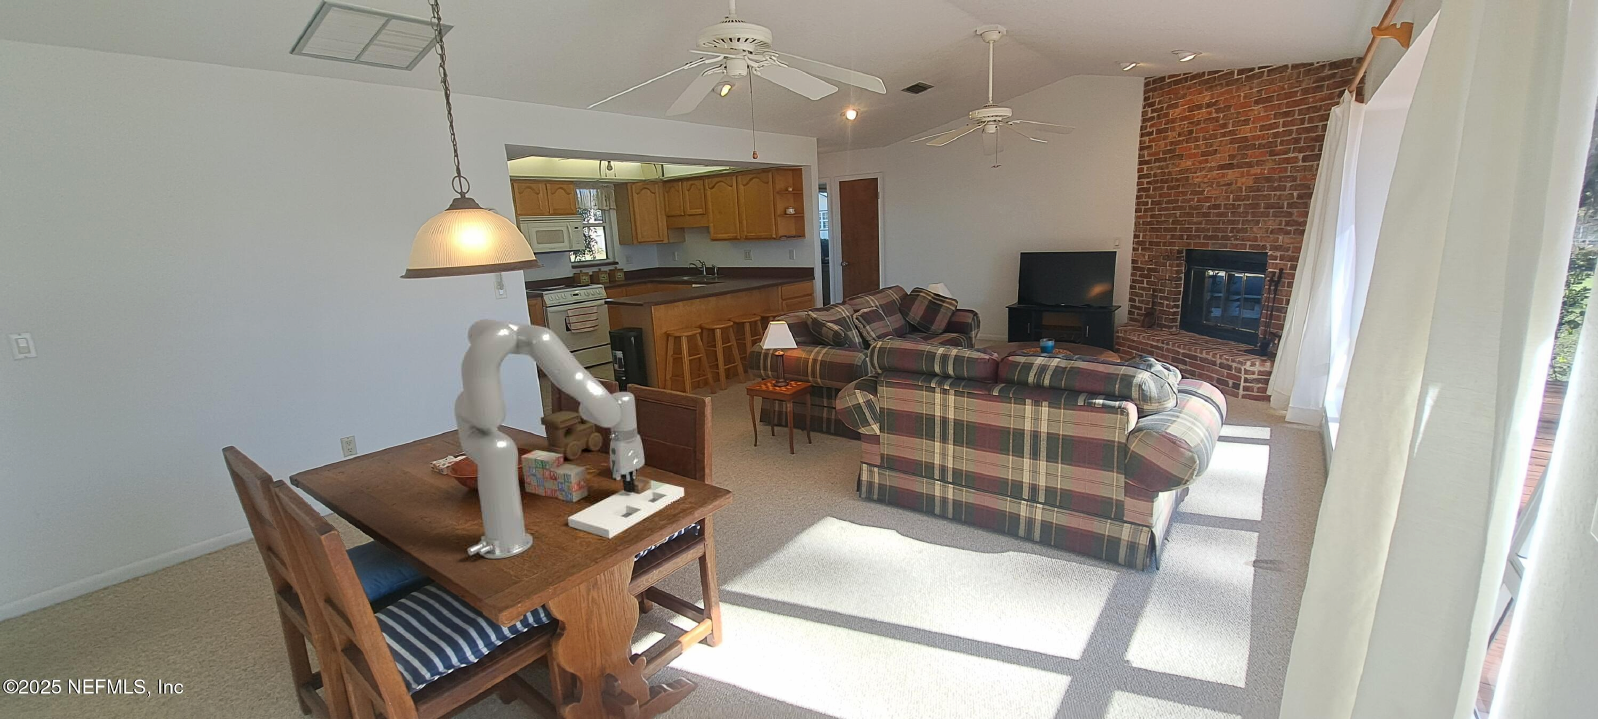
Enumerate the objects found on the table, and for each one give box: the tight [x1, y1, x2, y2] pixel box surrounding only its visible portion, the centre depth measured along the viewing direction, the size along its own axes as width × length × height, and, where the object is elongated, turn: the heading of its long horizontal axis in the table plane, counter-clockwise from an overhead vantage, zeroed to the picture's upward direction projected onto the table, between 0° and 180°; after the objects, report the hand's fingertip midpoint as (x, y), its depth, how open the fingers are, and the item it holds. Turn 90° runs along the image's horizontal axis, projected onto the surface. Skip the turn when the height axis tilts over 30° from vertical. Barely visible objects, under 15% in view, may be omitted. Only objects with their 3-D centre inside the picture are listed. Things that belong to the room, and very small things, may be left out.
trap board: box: [567, 480, 685, 539], centre depth 186 cm, size 31×16×2 cm, turn 150°
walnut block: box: [632, 476, 651, 494], centre depth 194 cm, size 5×5×3 cm
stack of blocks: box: [520, 449, 589, 503], centre depth 198 cm, size 21×6×12 cm, turn 63°
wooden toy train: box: [540, 410, 603, 461], centre depth 233 cm, size 20×11×17 cm, turn 151°
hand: (629, 490), depth 190 cm, fingers closed
